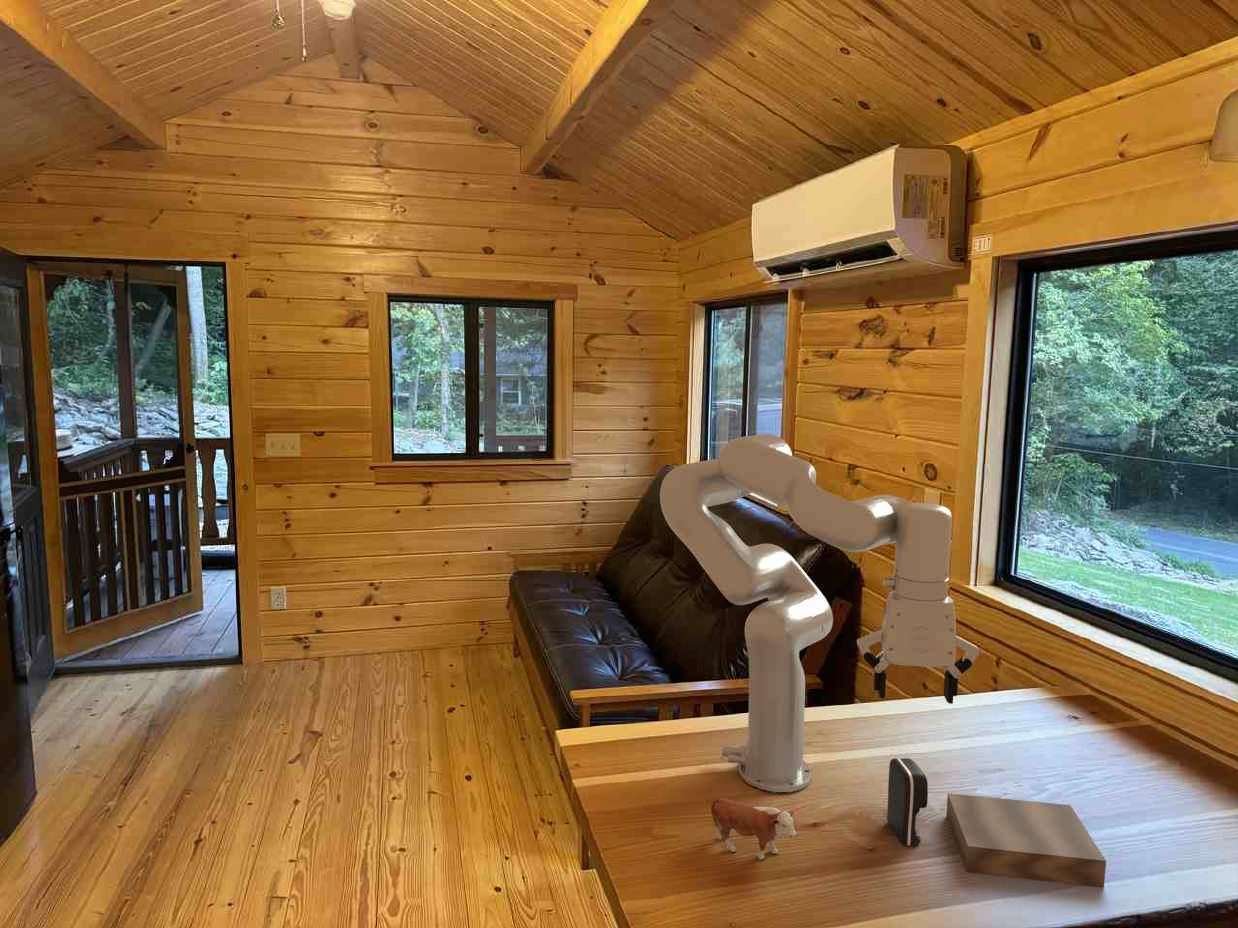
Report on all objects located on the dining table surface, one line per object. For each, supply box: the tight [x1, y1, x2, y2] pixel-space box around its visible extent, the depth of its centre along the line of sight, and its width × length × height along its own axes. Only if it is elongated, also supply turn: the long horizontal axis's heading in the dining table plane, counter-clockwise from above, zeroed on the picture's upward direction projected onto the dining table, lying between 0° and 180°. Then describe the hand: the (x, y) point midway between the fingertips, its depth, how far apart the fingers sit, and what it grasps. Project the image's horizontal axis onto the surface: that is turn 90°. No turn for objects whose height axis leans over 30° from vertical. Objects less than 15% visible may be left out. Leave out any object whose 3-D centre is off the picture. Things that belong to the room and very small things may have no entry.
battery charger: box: [886, 757, 929, 847], centre depth 124 cm, size 7×4×11 cm, turn 3°
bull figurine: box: [710, 797, 797, 860], centre depth 120 cm, size 4×13×8 cm, turn 58°
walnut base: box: [945, 793, 1107, 888], centre depth 121 cm, size 18×14×4 cm
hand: (914, 697), depth 122 cm, fingers open, 9 cm apart
